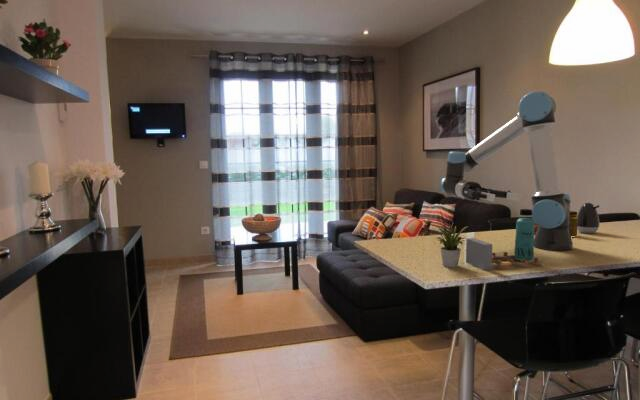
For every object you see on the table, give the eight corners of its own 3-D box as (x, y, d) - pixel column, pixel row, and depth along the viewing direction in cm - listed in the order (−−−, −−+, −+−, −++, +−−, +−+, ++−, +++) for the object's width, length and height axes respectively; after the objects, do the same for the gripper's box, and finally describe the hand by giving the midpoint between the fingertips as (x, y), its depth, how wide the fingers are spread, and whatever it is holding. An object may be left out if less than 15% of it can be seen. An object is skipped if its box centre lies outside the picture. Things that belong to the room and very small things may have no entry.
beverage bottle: (510, 261, 167) (512, 208, 165) (527, 260, 168) (529, 207, 166) (519, 265, 161) (521, 210, 159) (537, 264, 161) (539, 210, 159)
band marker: (491, 256, 168) (491, 254, 168) (511, 264, 156) (511, 262, 156) (484, 257, 168) (484, 255, 168) (503, 264, 156) (503, 263, 156)
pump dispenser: (591, 235, 216) (593, 204, 214) (570, 232, 225) (572, 202, 223) (603, 233, 221) (605, 203, 219) (583, 230, 230) (584, 201, 228)
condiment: (580, 236, 214) (582, 211, 213) (571, 238, 210) (572, 213, 208) (565, 234, 220) (566, 210, 219) (556, 236, 216) (557, 211, 214)
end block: (473, 261, 167) (473, 238, 166) (491, 269, 155) (492, 244, 154) (465, 262, 166) (466, 238, 165) (483, 270, 155) (484, 244, 154)
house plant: (421, 267, 160) (421, 222, 158) (433, 259, 172) (433, 217, 170) (461, 272, 152) (462, 225, 151) (471, 263, 164) (472, 219, 162)
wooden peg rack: (520, 258, 171) (521, 250, 170) (542, 266, 159) (542, 258, 159) (473, 261, 167) (473, 253, 167) (491, 269, 155) (491, 261, 155)
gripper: (489, 198, 196) (529, 207, 177) (444, 198, 186) (481, 208, 166) (491, 181, 194) (532, 188, 175) (446, 181, 184) (483, 188, 165)
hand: (507, 198), depth 171 cm, fingers open, 13 cm apart
